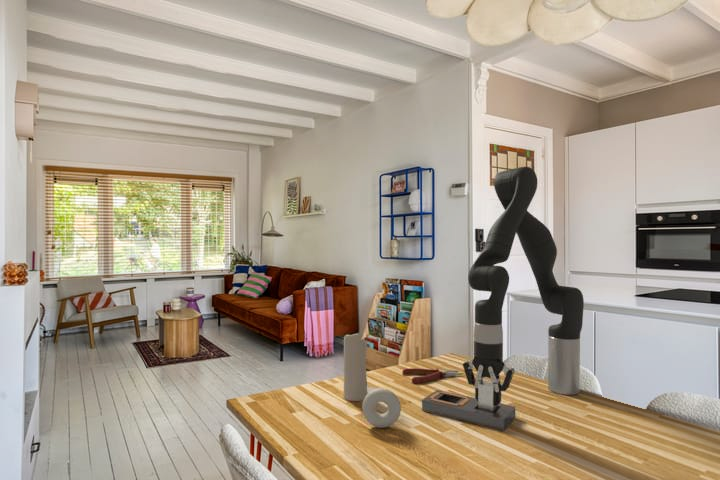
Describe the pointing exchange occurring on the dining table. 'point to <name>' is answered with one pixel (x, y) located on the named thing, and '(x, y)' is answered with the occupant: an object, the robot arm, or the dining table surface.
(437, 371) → the pliers
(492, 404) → the steel block
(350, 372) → the tall grey curved block
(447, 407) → the rail
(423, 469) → the dining table surface
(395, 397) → the donut
